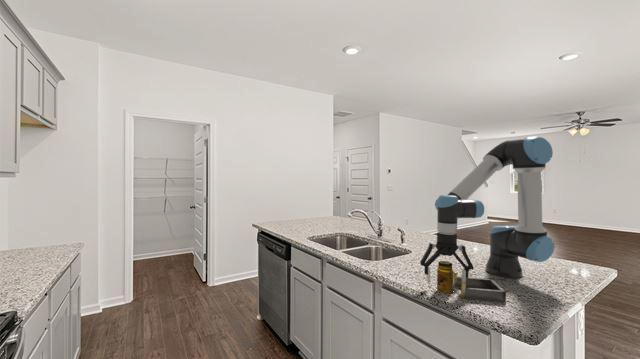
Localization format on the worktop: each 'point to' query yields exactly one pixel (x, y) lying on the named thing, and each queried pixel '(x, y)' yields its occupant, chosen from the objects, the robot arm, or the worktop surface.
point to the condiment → (445, 278)
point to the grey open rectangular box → (479, 289)
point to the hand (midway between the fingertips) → (445, 284)
